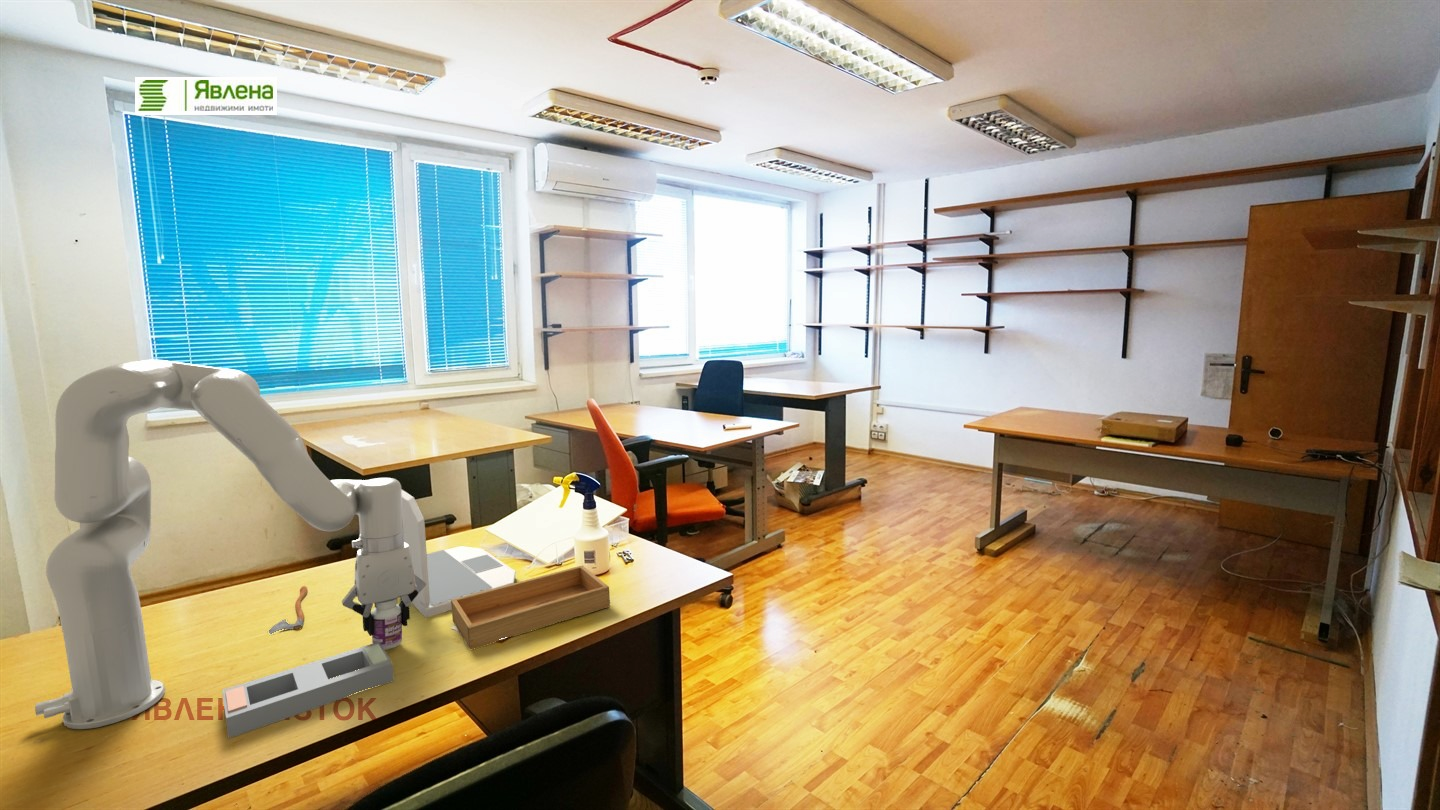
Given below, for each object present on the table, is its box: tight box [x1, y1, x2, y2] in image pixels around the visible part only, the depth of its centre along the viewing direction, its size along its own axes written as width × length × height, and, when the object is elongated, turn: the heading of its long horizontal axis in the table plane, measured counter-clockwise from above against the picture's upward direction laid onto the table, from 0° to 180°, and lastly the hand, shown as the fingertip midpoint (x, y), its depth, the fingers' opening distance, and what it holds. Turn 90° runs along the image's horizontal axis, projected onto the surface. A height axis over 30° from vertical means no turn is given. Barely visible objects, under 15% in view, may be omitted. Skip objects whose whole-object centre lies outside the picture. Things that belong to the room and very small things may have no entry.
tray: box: [451, 565, 611, 650], centre depth 140 cm, size 31×15×6 cm, turn 125°
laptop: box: [401, 488, 517, 618], centre depth 157 cm, size 33×24×26 cm
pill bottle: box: [371, 598, 403, 651], centre depth 126 cm, size 5×5×10 cm
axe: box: [268, 585, 308, 634], centre depth 142 cm, size 22×6×2 cm, turn 31°
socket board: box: [221, 642, 395, 739], centre depth 111 cm, size 24×10×4 cm, turn 131°
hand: (387, 627), depth 126 cm, fingers closed on pill bottle, 5 cm apart
